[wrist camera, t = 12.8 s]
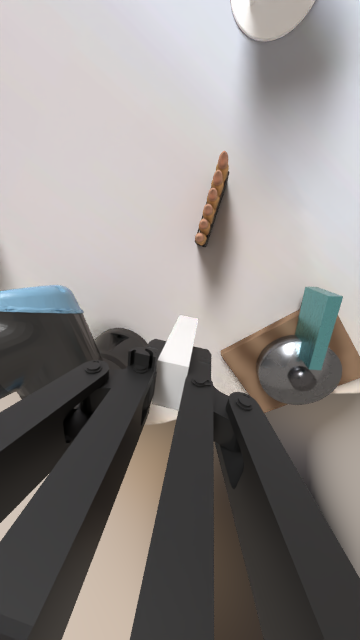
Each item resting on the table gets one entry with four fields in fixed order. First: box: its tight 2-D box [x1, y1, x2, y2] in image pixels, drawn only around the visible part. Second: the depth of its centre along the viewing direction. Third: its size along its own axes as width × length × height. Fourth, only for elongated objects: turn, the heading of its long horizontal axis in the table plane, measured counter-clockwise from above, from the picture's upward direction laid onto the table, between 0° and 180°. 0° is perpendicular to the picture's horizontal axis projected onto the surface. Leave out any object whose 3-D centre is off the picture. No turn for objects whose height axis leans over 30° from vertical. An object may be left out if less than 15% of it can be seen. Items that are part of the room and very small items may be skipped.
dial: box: [256, 287, 343, 405], centre depth 33 cm, size 23×14×7 cm, turn 0°
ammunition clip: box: [195, 151, 229, 247], centre depth 28 cm, size 11×2×12 cm, turn 163°
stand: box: [221, 309, 360, 413], centre depth 39 cm, size 22×18×2 cm
